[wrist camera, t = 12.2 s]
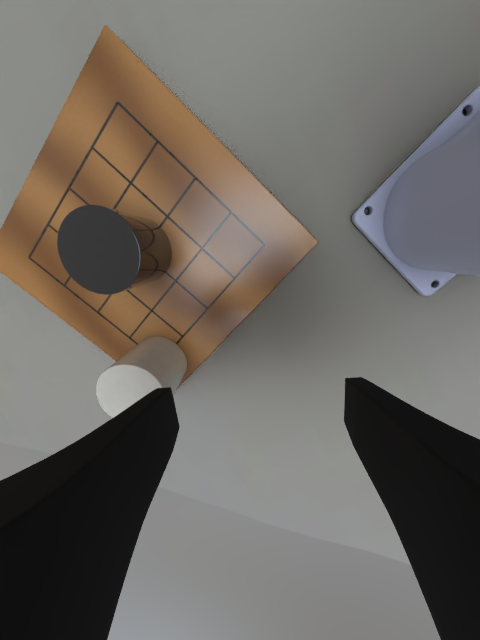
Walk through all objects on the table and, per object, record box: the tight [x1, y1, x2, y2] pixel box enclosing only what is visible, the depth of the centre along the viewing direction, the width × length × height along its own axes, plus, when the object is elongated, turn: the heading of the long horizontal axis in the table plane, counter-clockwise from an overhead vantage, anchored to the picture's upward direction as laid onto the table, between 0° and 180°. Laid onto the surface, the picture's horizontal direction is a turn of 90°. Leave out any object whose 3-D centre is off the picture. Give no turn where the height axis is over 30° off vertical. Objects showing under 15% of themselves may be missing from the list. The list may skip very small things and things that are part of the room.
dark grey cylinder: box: [57, 205, 172, 295], centre depth 14 cm, size 4×4×5 cm
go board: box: [0, 25, 318, 388], centre depth 17 cm, size 17×17×1 cm
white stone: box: [96, 337, 187, 418], centre depth 17 cm, size 4×4×5 cm
